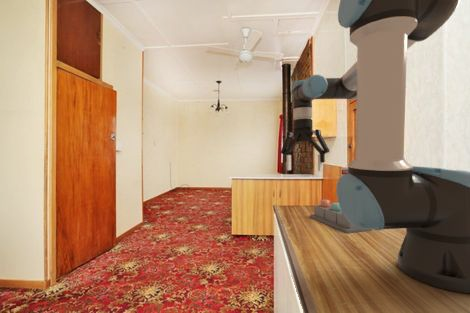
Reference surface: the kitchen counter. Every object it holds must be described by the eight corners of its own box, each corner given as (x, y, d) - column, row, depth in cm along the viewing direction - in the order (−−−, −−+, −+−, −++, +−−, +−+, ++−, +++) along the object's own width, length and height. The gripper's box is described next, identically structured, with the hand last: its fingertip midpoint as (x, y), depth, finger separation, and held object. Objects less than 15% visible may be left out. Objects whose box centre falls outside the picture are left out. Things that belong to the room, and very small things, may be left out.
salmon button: (332, 211, 94) (332, 200, 94) (324, 212, 93) (324, 201, 93) (326, 209, 97) (326, 199, 97) (318, 210, 96) (318, 199, 96)
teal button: (344, 215, 87) (344, 204, 87) (336, 216, 86) (336, 204, 86) (338, 213, 91) (337, 202, 91) (329, 213, 90) (329, 203, 90)
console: (371, 230, 79) (371, 215, 79) (347, 233, 76) (347, 218, 76) (329, 214, 100) (329, 203, 100) (309, 217, 98) (309, 205, 98)
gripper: (337, 116, 89) (338, 170, 89) (280, 123, 106) (281, 169, 106) (330, 114, 83) (331, 172, 84) (272, 122, 100) (273, 170, 100)
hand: (304, 170), depth 95 cm, fingers open, 13 cm apart
